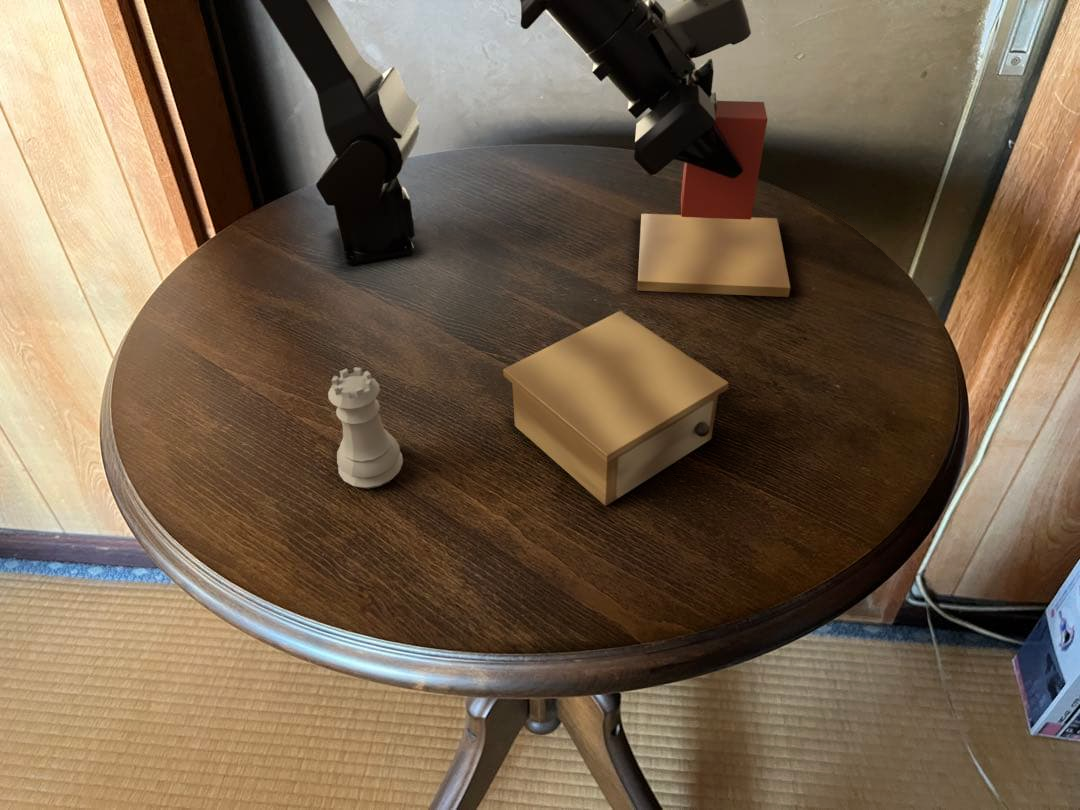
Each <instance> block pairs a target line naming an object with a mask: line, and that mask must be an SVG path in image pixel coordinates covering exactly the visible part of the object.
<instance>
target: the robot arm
mask: <svg viewBox="0 0 1080 810" xmlns="http://www.w3.org/2000/svg"><path fill="white" fill-rule="evenodd" d="M258 1H259V2H260V4H261V6H262V7H263V8H264V10H265V12H266V13H267V15H268V16H269V18H270V19H271V21H272V23H273V24H274V26H275V28H276V30H277V31H278V32H279V34H280V36H281V37H282V39H283V40H284V42H285V43H286V45H287V47H288V48H289V50H290V51H291V53H292V55H293V56H294V58H295V59H296V61H297V63H298V65H300V67H301V68H302V70H303V72H304V74H305V75H306V77H307V78H308V80H309V81H310V83H311V84H312V86H313V88H314V90H315V92H316V96H317V100H318V104H319V105H318V106H319V109H320V114H321V119H322V123H323V124H322V125H323V129H324V133H325V135H326V137H327V139H328V141H329V143H330V146H331V147H332V150H333V152H334V155H335V156H334V157H333V159H331V162H330V163H329V164H328V166H327V167H326V169H325V171H324V172H323V173H322V175H321V176H320V178H319V179H318V181H317V182H316V183H315V187H316V189H317V191H318V193H319V194H320V196H321V197H322V199H323V201H324V202H325V204H326V205H327V206H331V207H332V206H333V209H334V214H335V218H336V224H337V229H336V231H337V237H338V240H339V243H340V247H341V248H340V249H341V251H342V255H343V259H344V263H345V264H346V265H348V266H350V265H355V264H361V263H367V262H372V261H378V260H385V259H388V258H389V259H391V258H394V257H399V256H405V255H410V254H412V253H414V252H415V246H414V243H413V241H412V239H414V238H415V237H416V233H415V225H414V218H413V211H412V203H411V199H410V195H409V194H408V191H407V188H405V187H404V186H402V183H401V180H400V178H399V176H398V175H399V174H400V173H401V171H402V170H403V167H404V166H405V164H406V161H407V160H408V158H409V156H410V154H411V152H412V150H413V149H414V147H415V145H416V143H417V140H418V137H419V133H420V131H419V130H420V123H419V119H418V116H417V111H418V109H419V108H420V104H418V103H417V102H416V101H415V100H414V99H413V98H412V97H411V96H410V95H409V92H408V91H407V90H406V88H405V85H404V82H403V80H402V78H401V75H400V73H399V71H398V70H397V68H396V67H395V66H392V67H390V68H389V69H387V70H386V71H384V73H381V72H380V71H378V70H377V69H376V68H374V66H372V65H371V64H370V63H368V62H367V61H366V60H365V59H364V58H363V57H362V55H361V54H360V52H359V50H358V49H357V47H356V45H355V43H354V41H353V40H352V38H351V37H350V35H349V33H348V31H347V29H346V27H344V25H343V23H342V21H341V20H340V18H339V16H338V14H337V13H336V11H335V8H334V7H333V6H332V4H331V2H330V1H329V0H258ZM519 2H520V22H519V25H520V27H521V28H522V29H523V30H528V29H530V28H531V27H532V25H533V24H534V23H535V22H536V21H537V20H538V19H539V18H540V17H541V15H543V14H544V12H546V13H547V15H549V16H550V18H552V20H553V21H554V22H555V23H556V24H557V25H558V26H559V27H560V28H561V29H562V30H563V32H564V33H565V34H566V35H567V36H568V37H569V38H570V39H571V41H573V42H574V43H575V44H576V45H577V47H579V48H580V50H581V51H582V52H583V53H584V54H585V55H586V56H587V58H588V59H590V61H591V62H592V63H593V66H592V74H593V75H594V76H595V77H596V78H597V79H598V80H599V81H600V82H602V81H603V80H605V79H606V78H607V79H608V80H609V81H610V82H611V83H612V84H613V85H614V86H615V87H616V89H618V90H619V91H620V93H621V94H622V95H623V96H624V97H625V98H626V99H627V100H628V105H627V111H628V112H629V113H630V114H631V115H632V117H634V119H636V120H637V119H638V118H639V117H640V116H641V115H642V114H644V113H645V112H646V111H647V110H648V109H649V110H650V111H649V112H648V113H647V114H646V115H645V116H643V118H641V119H640V120H639V121H638V122H637V123H636V127H635V137H634V138H635V139H634V152H633V153H634V155H633V159H634V160H635V162H637V163H638V165H640V167H641V168H642V169H643V170H644V171H645V172H646V173H647V174H648V175H649V176H654V175H657V174H658V173H659V172H660V171H662V170H663V169H665V167H666V166H667V165H669V164H670V163H671V162H673V160H674V161H678V162H682V163H684V162H685V163H688V164H691V165H694V166H697V167H700V168H703V169H706V170H709V171H712V172H715V173H718V174H720V175H723V176H726V177H729V178H732V179H734V178H736V177H737V176H738V175H740V174H741V173H742V172H743V168H742V166H741V164H740V162H739V161H738V159H737V157H736V156H735V154H734V152H733V151H732V149H731V147H730V146H729V144H728V143H727V141H726V139H725V138H724V136H723V134H722V133H721V131H720V130H719V128H718V126H717V125H716V123H715V121H716V119H715V115H716V112H717V101H718V100H717V93H716V91H715V92H713V91H712V90H713V83H714V82H713V81H714V74H715V73H714V72H715V71H714V63H713V59H712V58H709V59H707V60H706V61H704V62H703V64H701V65H700V66H699V67H697V68H696V63H695V62H694V61H693V59H697V58H700V57H703V56H706V55H708V54H709V53H712V52H714V51H717V50H718V49H722V48H723V47H726V46H728V45H732V46H735V45H737V44H740V43H742V42H743V41H746V40H747V39H748V38H749V37H750V36H751V34H752V30H751V26H750V21H749V17H748V14H747V10H746V7H745V3H744V1H743V0H680V3H679V4H678V5H675V6H674V7H672V8H669V9H668V10H666V9H664V8H663V7H662V5H661V4H660V3H659V2H658V1H657V0H653V1H652V0H646V1H644V0H519Z"/></svg>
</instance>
